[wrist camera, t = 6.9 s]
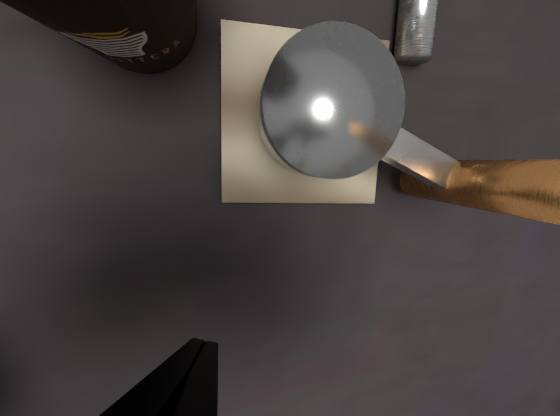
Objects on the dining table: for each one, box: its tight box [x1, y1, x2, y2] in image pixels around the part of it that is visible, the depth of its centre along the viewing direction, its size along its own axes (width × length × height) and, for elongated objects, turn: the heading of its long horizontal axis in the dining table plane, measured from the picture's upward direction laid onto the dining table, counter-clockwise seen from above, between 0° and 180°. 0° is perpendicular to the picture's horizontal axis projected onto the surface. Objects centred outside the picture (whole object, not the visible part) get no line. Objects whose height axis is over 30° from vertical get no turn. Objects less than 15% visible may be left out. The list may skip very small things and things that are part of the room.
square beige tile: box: [221, 19, 389, 203], centre depth 17 cm, size 11×11×3 cm
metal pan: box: [257, 21, 560, 225], centre depth 13 cm, size 14×7×10 cm, turn 65°
